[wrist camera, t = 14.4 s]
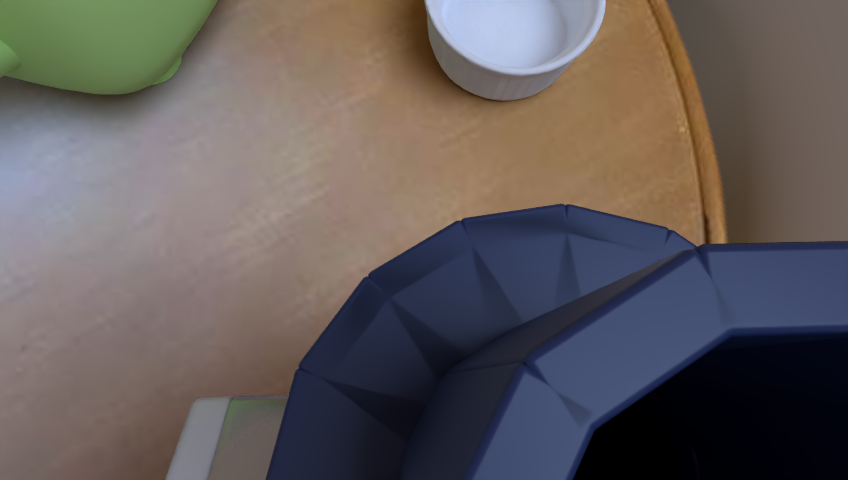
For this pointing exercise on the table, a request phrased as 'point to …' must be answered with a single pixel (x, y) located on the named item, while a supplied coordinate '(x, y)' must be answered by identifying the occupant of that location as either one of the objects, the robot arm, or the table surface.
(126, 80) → the teapot
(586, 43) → the ramekin
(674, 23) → the table surface
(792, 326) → the bottle
